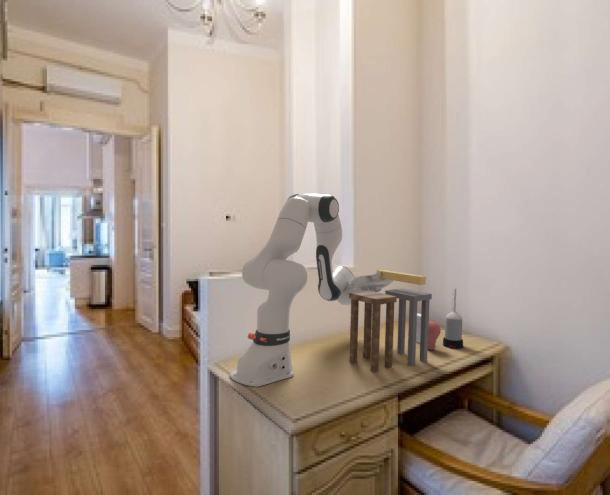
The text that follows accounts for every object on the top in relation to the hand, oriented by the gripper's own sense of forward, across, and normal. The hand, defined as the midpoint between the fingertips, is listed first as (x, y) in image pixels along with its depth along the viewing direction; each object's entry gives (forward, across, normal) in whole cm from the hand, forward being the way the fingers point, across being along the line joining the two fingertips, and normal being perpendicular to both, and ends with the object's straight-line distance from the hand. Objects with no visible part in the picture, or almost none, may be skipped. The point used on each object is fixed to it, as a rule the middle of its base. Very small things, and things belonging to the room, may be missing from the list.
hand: (385, 273), depth 158 cm
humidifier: (-5, +30, +34) cm, 46 cm away
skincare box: (-16, +23, +28) cm, 39 cm away
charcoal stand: (-6, 0, +34) cm, 34 cm away
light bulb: (-7, +18, +33) cm, 38 cm away
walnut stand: (-8, -16, +32) cm, 37 cm away
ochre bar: (+6, 0, +6) cm, 8 cm away
